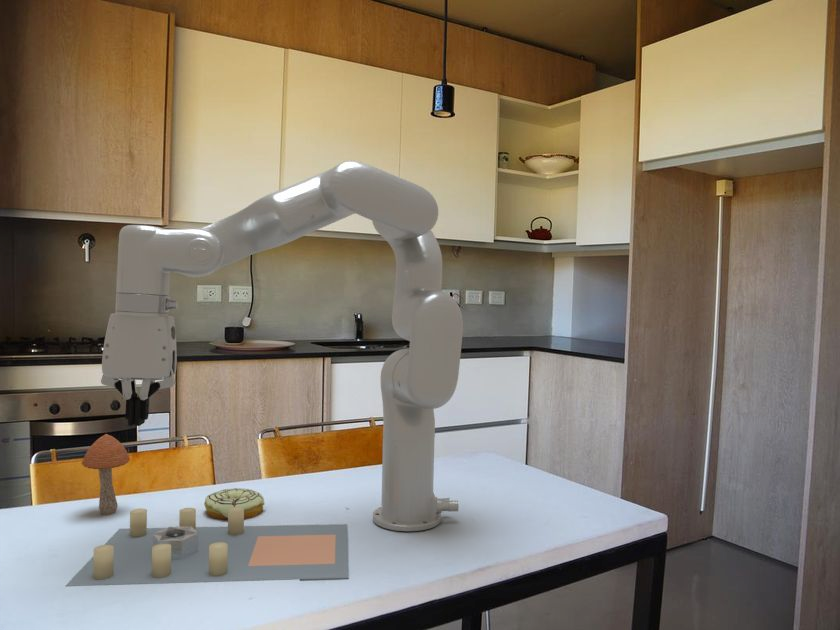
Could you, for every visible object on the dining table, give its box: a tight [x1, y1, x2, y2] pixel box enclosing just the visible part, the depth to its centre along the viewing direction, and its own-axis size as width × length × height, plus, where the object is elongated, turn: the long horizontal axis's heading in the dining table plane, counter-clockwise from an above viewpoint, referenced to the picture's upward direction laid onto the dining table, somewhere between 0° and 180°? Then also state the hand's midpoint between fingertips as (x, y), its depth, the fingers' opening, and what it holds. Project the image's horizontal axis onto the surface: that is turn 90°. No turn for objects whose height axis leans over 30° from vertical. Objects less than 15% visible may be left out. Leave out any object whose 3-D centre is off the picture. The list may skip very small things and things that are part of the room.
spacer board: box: [65, 507, 349, 587], centre depth 102 cm, size 39×22×4 cm, turn 97°
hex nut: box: [153, 526, 198, 560], centre depth 102 cm, size 7×6×3 cm
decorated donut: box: [203, 487, 266, 520], centre depth 121 cm, size 10×11×4 cm
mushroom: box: [81, 433, 131, 516], centre depth 118 cm, size 8×8×15 cm
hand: (136, 423), depth 100 cm, fingers closed
